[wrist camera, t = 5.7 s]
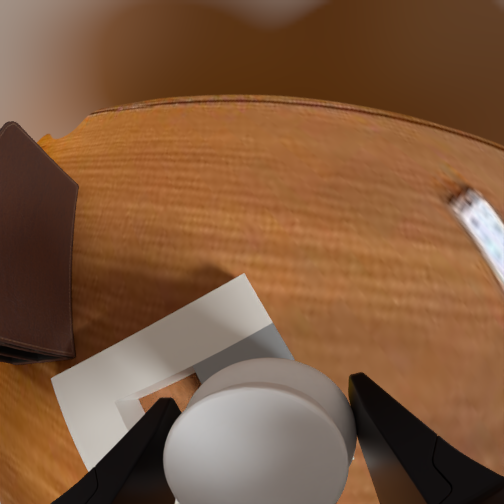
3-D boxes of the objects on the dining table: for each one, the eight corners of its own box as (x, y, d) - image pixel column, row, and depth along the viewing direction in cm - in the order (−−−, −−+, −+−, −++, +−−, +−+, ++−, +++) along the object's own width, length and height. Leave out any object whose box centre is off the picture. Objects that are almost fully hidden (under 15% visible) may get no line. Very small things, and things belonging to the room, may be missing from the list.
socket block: (345, 445, 17) (354, 458, 13) (145, 517, 15) (126, 532, 12) (251, 287, 22) (244, 273, 19) (76, 380, 21) (50, 378, 18)
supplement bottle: (234, 356, 15) (147, 333, 6) (336, 363, 14) (400, 353, 5) (223, 449, 13) (133, 529, 4) (324, 458, 12) (358, 562, 3)
